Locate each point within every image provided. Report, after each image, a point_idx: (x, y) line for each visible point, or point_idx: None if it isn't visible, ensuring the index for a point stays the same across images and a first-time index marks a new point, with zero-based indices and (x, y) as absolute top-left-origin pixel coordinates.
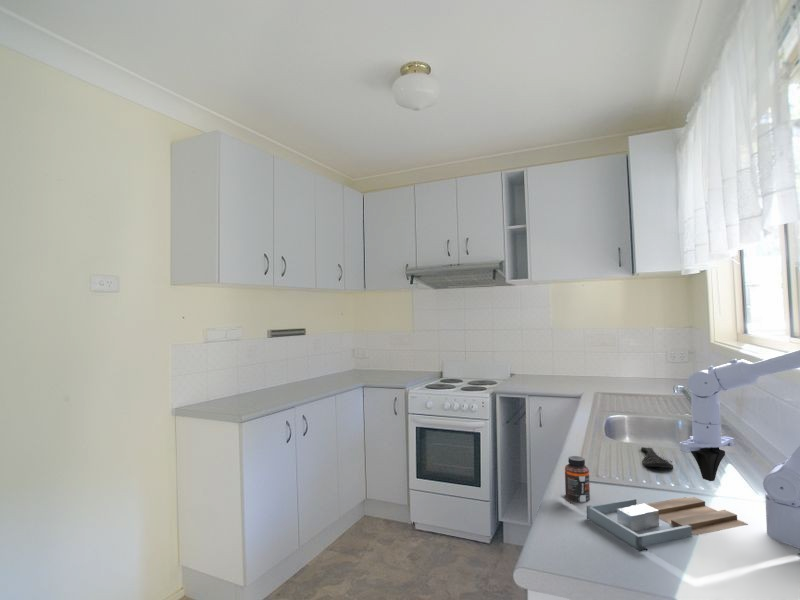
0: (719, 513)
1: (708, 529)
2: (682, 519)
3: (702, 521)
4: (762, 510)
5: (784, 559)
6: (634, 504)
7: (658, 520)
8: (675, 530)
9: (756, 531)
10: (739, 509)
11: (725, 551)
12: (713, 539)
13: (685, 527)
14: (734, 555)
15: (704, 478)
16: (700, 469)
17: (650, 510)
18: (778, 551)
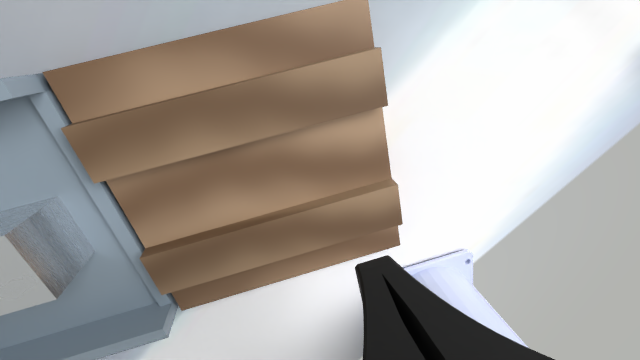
0: (355, 212)
1: (255, 276)
2: (186, 255)
3: (251, 267)
4: (551, 122)
5: (345, 357)
6: (17, 97)
7: (78, 271)
8: (99, 356)
9: (401, 250)
10: (493, 108)
11: (239, 340)
12: (249, 292)
13: (143, 343)
14: (248, 353)
15: (358, 281)
16: (364, 308)
17: (15, 300)
18: (363, 331)
